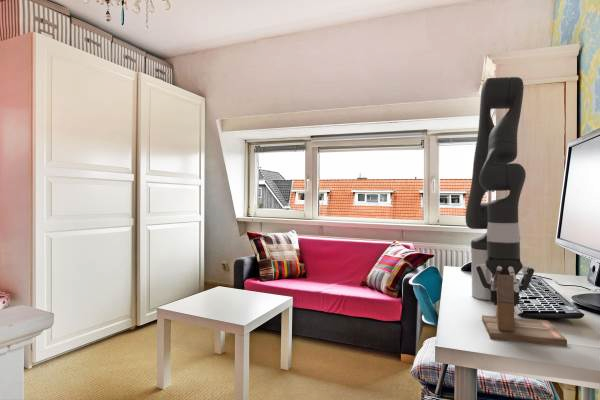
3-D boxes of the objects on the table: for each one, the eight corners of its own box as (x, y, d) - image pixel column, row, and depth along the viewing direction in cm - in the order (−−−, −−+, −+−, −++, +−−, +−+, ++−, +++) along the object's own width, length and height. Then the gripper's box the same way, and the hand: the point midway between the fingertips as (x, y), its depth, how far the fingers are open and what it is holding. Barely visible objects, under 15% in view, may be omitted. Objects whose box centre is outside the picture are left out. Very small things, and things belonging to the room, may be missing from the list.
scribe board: (482, 320, 102) (482, 315, 102) (547, 326, 97) (547, 320, 97) (490, 338, 89) (490, 332, 89) (567, 346, 83) (567, 339, 83)
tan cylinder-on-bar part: (498, 330, 90) (496, 259, 90) (496, 317, 100) (494, 253, 100) (515, 332, 88) (513, 259, 88) (511, 319, 98) (510, 253, 98)
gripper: (530, 238, 95) (531, 303, 95) (471, 237, 100) (472, 299, 100) (538, 241, 88) (540, 311, 88) (475, 240, 93) (476, 306, 93)
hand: (504, 304), depth 94 cm, fingers closed on tan cylinder-on-bar part, 4 cm apart
